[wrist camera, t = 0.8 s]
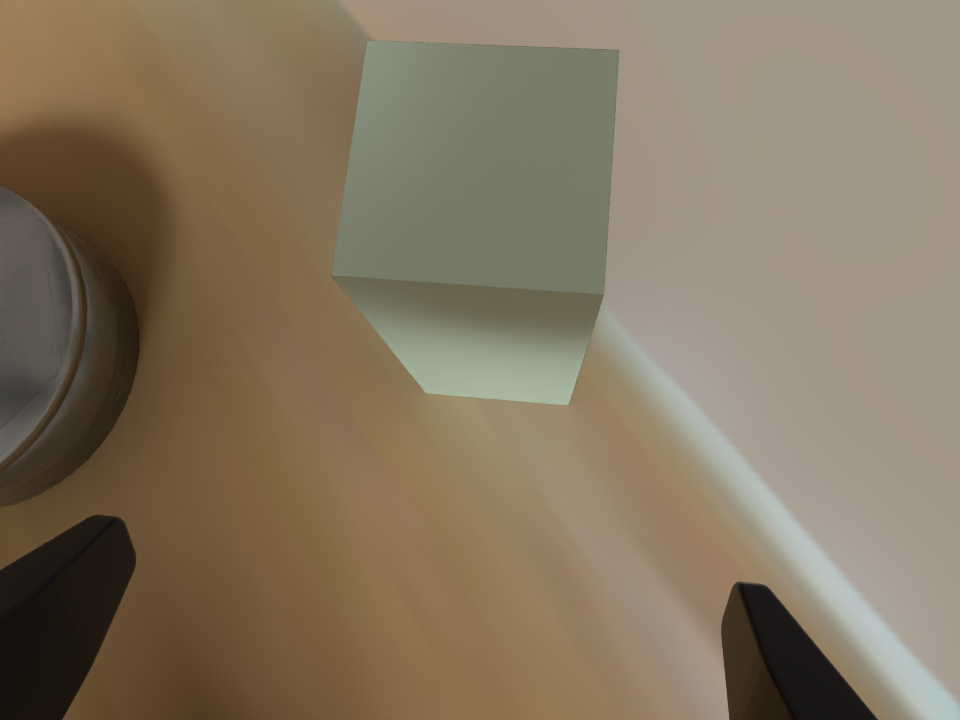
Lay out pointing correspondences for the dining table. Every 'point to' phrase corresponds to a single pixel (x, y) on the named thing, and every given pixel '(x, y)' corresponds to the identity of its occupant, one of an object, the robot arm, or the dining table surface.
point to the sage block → (480, 212)
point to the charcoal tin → (57, 349)
